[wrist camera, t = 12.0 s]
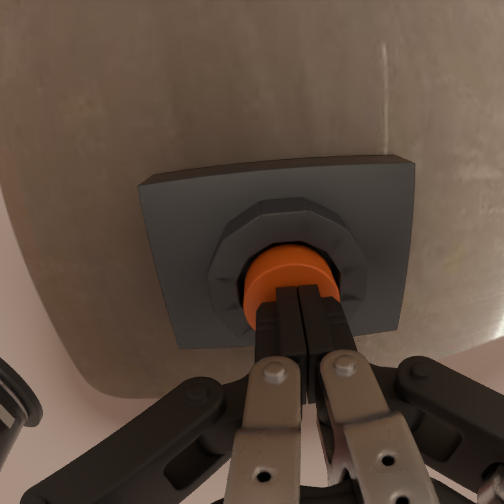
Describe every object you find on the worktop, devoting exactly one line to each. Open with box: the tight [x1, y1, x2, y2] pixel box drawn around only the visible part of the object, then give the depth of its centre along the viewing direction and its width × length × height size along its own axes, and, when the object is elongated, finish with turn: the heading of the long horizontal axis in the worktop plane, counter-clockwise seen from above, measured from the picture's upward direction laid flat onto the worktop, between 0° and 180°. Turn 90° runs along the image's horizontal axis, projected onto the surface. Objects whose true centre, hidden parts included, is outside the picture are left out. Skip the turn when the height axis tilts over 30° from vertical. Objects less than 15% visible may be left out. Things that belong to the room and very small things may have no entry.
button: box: [243, 244, 340, 331], centre depth 12 cm, size 4×4×2 cm
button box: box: [138, 155, 415, 349], centre depth 15 cm, size 12×9×4 cm
